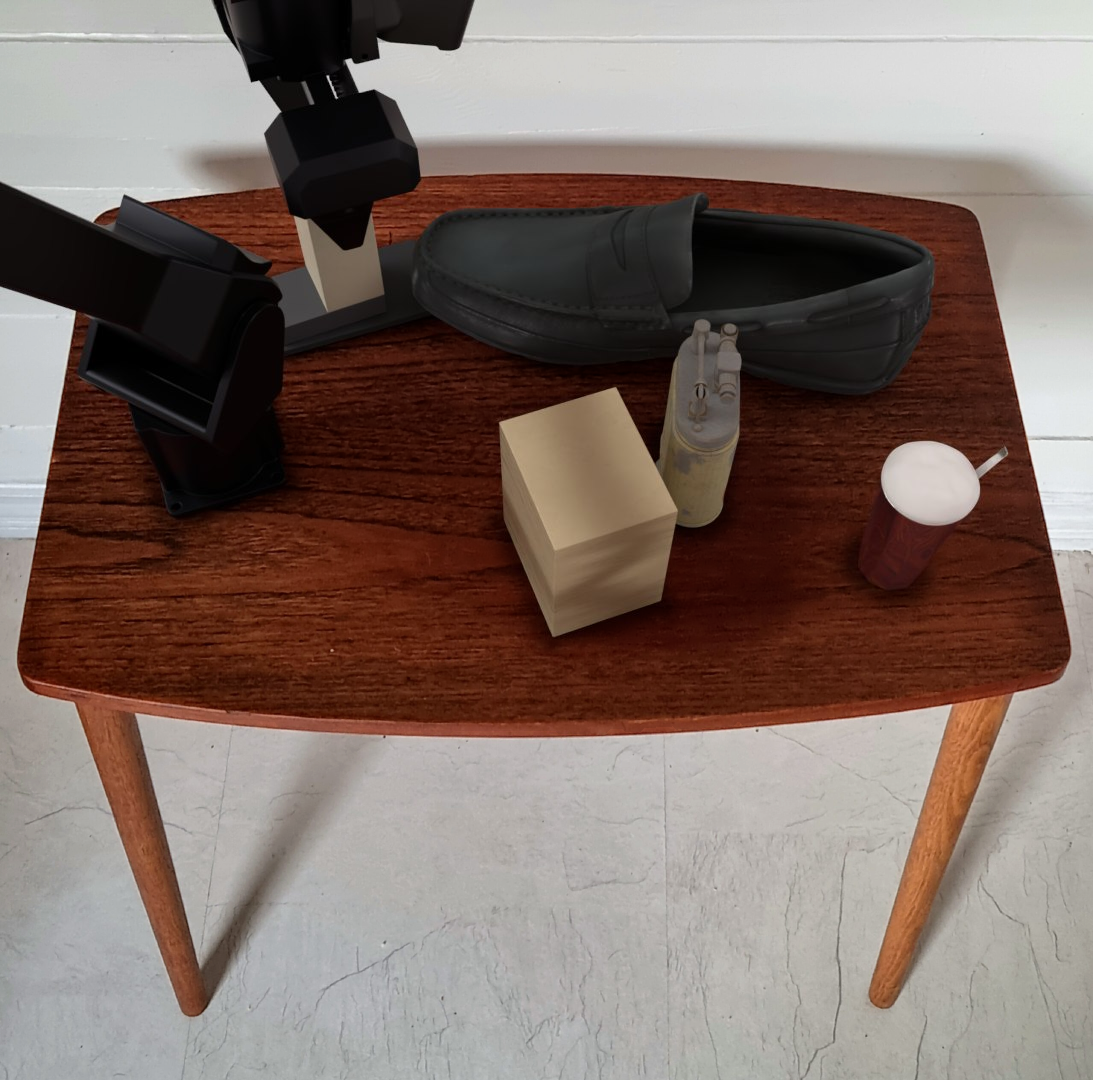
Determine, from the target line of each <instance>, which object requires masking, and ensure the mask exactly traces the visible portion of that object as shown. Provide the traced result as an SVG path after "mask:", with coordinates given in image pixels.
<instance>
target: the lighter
mask: <svg viewBox="0 0 1093 1080" xmlns="http://www.w3.org/2000/svg"><path fill="white" fill-rule="evenodd" d="M737 335H738V328H737V327H736V326H735V325H734V324H725V325H723V326H722V329H721V333H720V334H718V333H715V332H710V323H709V322H708V321H707V320H704V319H700V320H697V321H696V322H695V325H694V331H693V333H692V336H690V337H689V338H687V339H686V340H685V341H684V342H683V344H682V345H681V347H680V349H679V352H678V356H675V359H674V362H673V364H672V371H671V378H670V384H669V390H668V397H667V403H666V410H665V415H664V423H663V429H662V433H661V435H660V445H659V447H660V448H659V458H658V459H657V460H656V461H655V462H654V464H655V466H656V468H657V470H658V472H659V474H660V476H661V478H662V480H663V482H664V484H665V486H666V488H667V490H668V492H669V494H670V496H671V498H672V500H673V502H674V504H675V506H676V508H677V510H678V513H677V518H676V524H675V525H677V526H681V527H686V528H700V527H704V526H707V525H709V524H711V523H713V522H714V521H715V520H716V519H717V518H718V517H719V516H720V514H721V512H722V509H723V508H724V497H725V493H726V489H727V485H728V482H729V478H730V473H731V471H732V465H733V462H734V457H735V454H736V449H737V445H738V441H739V437H740V415H741V414H740V412H741V411H740V408H741V407H740V406H741V403H740V401H741V379H740V378H741V377H740V375H741V374H740V371H741V370H740V368H741V356H740V353H738V351H737V349H736V347H735V345H736V339H737Z"/></svg>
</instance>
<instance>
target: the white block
mask: <svg viewBox="0 0 1093 1080" xmlns="http://www.w3.org/2000/svg"><path fill="white" fill-rule="evenodd" d="M293 218H294V223H295V226H296V231H297V235H298V238H299V239H298V240H299V244H300V247H301V252H302V256H303V260H304V266H301V267H298V268H296V269H295V268H294V269H292V270H289V271H285V272H283V273H279V274H276V275H274V276H273V275H272V276H270V277H271V278H272V279H273V280H274V281H275V282H277V283H278V285H279V287H280V289H281V291H282V295H283V297H282V300H281V301H280V302H279V303H278V307H280V308H281V310H282V311H283V314H284V317H285V338H284V346H285V345H288V344H291V343H294V342H297V341H300V340H303V339H306V338H309V337H312V336H315V335H318V334H321V333H324V332H327V331H330V330H333V329H336V328H339V327H342V326H345V325H348V324H351V323H354V322H357V321H360V320H363V319H366V318H369V317H372V316H375V315H378V314H381V313H384V312H387V306H386V299H385V294H384V287H383V281H382V275H381V268H380V262H379V256H378V250H377V249H378V245H377V238H376V233H375V232H376V231H375V226H374V221H373V219H374V218H373V213H372V212H371V215H370V219H369V223H368V227H367V231H366V235H365V240H364V244H363V245H362V246H361V247H358V248H355V249H351V250H347V251H344V250H342V249H341V248H340V247H339V246H338V245H337V244H336V243H335V242H334V241H333V240H332V239H331V238H330V237H329V236H328V235H326V234H325V233H324V232H323V231H322V230H321V229H320V228H319V227H318V226H317V225H316V224H315V223H314V222H313V221H312V220H311V219H306V220H304V219H301V218H299V217H296V216H293Z"/></svg>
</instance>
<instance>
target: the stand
mask: <svg viewBox="0 0 1093 1080" xmlns="http://www.w3.org/2000/svg"><path fill="white" fill-rule="evenodd" d="M498 424H499V442H500V443H499V444H500V445H499V446H500V464H501V467H500V468H501V485H502V487H501V489H502V506H503V521H504V522H505V526H506V528H507V530H508V533H509V535H510V537H511V540H512V542H513V545H514V547H515V550H516V552H517V555H518V556H519V559H520V562H521V564H522V566H523V570H524V571H525V574H526V576H527V578H528V581H529V583H530V585H531V588H532V590H533V593H534V594H535V598H536V600H537V602H538V605H539V607H540V610H541V612H542V614H543V616H544V619H545V621H546V624H547V627H548V629H549V631H550V633H551V636H552V637H553V638H555V637H559V636H561V635H564V634H567V633H570V632H573V631H576V630H580V629H582V628H584V627H587V626H590V625H593V624H597V623H599V622H602V621H605V620H607V619H608V620H609V619H611V618H614V617H617V616H620V615H623V614H626V613H629V612H632V611H634V610H638V609H641V608H644V607H646V606H647V607H648V606H650V605H653V604H655V603H659V602H661V601H662V597H663V592H664V588H665V587H664V586H665V582H666V575H667V570H668V564H669V560H670V555H671V549H672V544H673V540H674V539H673V538H674V533H675V529H676V525H677V524H676V518H677V513H678V510H677V508H676V506H675V504H674V502H673V500H672V498H671V496H670V494H669V492H668V490H667V488H666V486H665V484H664V482H663V480H662V478H661V476H660V474H659V472H658V470H657V468H656V466H655V462H654V460H653V458H652V455H651V454H650V452H649V450H648V448H647V446H646V444H645V442H644V440H643V438H642V436H641V434H640V432H639V430H638V427H637V426H636V424H635V422H634V420H633V418H632V416H631V414H630V412H629V410H628V408H627V406H626V405H625V402H624V400H623V398H622V396H621V394H620V393H619V390H618V389H617V387H616V386H614V387H611V388H608V389H605V390H601V391H598V392H595V393H591V394H588V395H585V396H581V397H579V398H578V397H577V398H575V399H571V400H567V401H565V402H561V403H558V404H555V405H551V406H548V407H545V408H542V409H538V410H535V411H531V412H529V413H524V414H522V415H519V416H515V417H512V418H508V419H504V420H501V421H499V422H498Z"/></svg>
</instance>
